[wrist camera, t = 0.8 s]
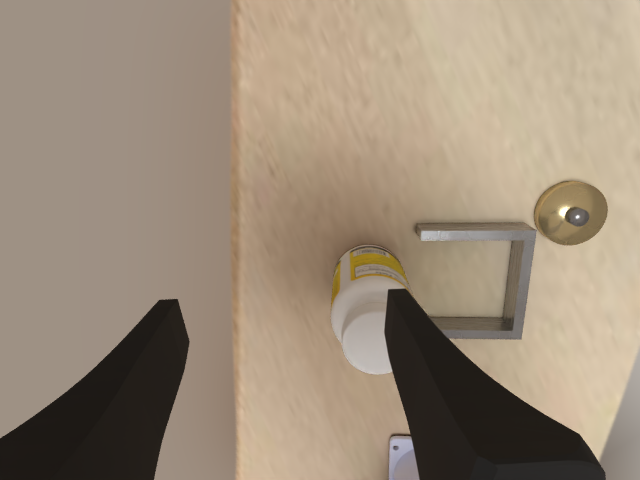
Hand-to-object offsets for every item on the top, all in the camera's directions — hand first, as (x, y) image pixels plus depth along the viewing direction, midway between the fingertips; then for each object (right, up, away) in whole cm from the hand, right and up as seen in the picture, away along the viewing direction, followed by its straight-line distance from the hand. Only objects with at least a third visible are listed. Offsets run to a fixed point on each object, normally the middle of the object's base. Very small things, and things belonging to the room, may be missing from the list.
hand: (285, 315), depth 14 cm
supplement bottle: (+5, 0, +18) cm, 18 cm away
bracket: (+12, 0, +17) cm, 21 cm away
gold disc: (+19, +5, +15) cm, 24 cm away
